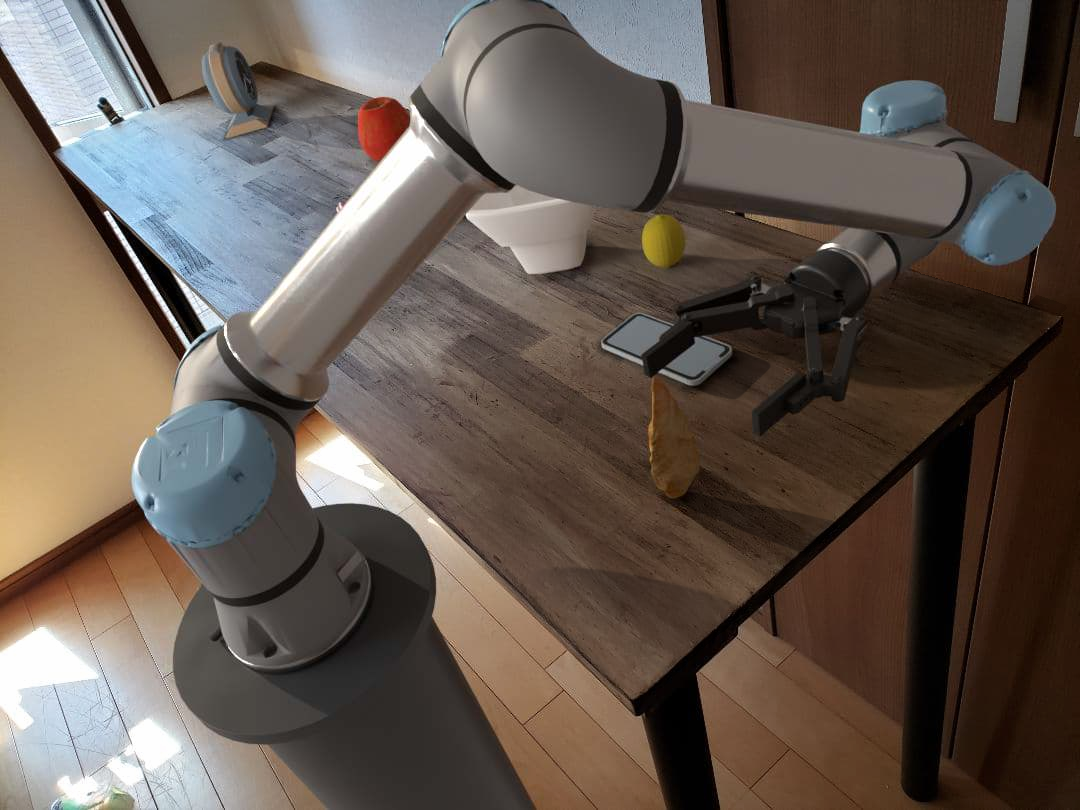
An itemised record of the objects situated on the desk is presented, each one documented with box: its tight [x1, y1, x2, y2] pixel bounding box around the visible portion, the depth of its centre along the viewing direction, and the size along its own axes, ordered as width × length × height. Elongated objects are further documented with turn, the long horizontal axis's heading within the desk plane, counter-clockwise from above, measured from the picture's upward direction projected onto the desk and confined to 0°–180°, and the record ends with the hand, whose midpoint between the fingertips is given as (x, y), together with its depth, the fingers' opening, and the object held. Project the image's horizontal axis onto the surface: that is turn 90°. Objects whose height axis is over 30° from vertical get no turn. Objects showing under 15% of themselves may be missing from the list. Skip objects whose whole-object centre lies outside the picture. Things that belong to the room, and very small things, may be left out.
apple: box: [357, 96, 411, 163], centre depth 157 cm, size 11×11×11 cm
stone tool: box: [647, 375, 701, 500], centre depth 78 cm, size 5×2×15 cm, turn 132°
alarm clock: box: [201, 42, 274, 140], centre depth 187 cm, size 14×10×18 cm
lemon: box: [641, 213, 686, 269], centre depth 109 cm, size 6×6×8 cm
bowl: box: [465, 185, 598, 275], centre depth 115 cm, size 19×19×14 cm
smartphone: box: [600, 312, 733, 387], centre depth 99 cm, size 7×1×15 cm
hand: (697, 394), depth 78 cm, fingers open, 13 cm apart
